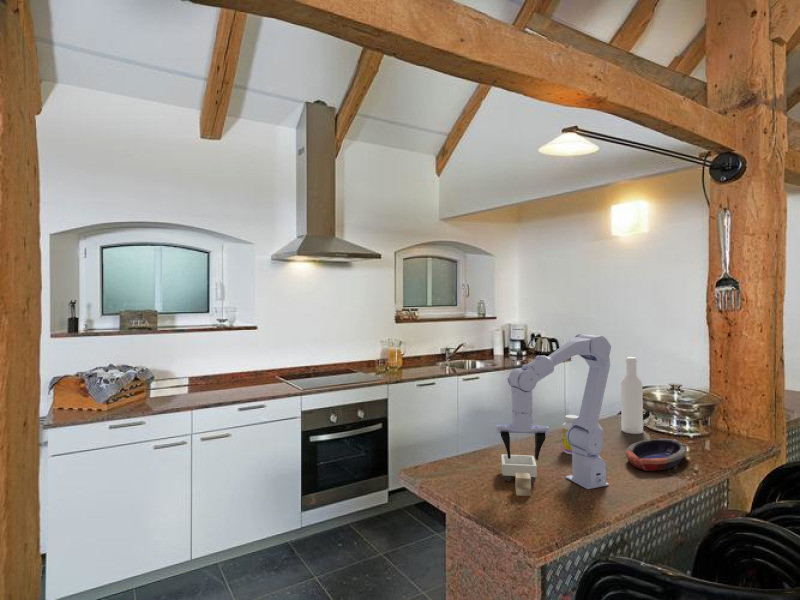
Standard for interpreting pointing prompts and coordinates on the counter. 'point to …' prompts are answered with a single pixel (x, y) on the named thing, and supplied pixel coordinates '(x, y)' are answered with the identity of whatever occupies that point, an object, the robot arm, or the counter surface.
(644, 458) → the dish
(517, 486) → the block
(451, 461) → the counter surface
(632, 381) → the bottle
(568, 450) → the supplement bottle
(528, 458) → the white open storage bin
